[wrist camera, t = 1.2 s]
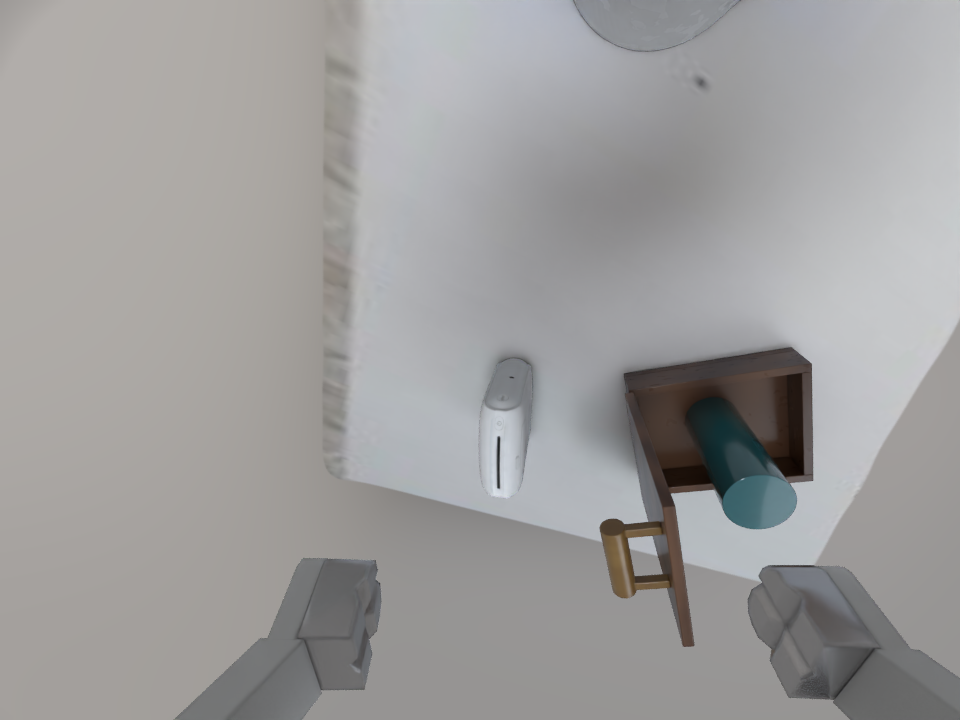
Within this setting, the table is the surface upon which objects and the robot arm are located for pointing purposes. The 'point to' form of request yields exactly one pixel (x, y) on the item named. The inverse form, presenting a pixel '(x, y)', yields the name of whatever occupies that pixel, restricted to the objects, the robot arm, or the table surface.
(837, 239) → the table surface
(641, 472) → the lid
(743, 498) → the canister
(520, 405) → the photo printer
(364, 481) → the table surface
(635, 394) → the chest
